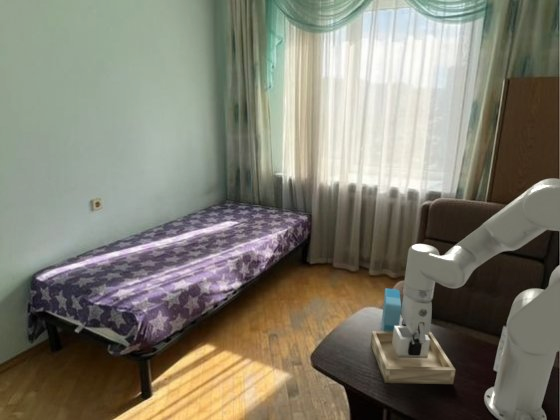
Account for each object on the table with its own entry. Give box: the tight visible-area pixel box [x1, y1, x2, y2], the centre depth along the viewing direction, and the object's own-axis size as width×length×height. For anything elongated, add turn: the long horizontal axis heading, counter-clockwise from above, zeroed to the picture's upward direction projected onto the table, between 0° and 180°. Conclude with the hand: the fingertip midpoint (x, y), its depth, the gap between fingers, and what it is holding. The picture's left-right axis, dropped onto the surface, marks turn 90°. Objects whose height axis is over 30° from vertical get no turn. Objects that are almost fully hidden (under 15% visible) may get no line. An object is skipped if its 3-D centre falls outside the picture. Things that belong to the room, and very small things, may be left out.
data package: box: [381, 287, 402, 331], centre depth 115 cm, size 12×4×12 cm, turn 165°
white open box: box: [392, 325, 430, 358], centre depth 99 cm, size 6×8×6 cm
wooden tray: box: [370, 330, 456, 385], centre depth 100 cm, size 16×18×4 cm
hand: (409, 345), depth 100 cm, fingers closed on white open box, 6 cm apart
